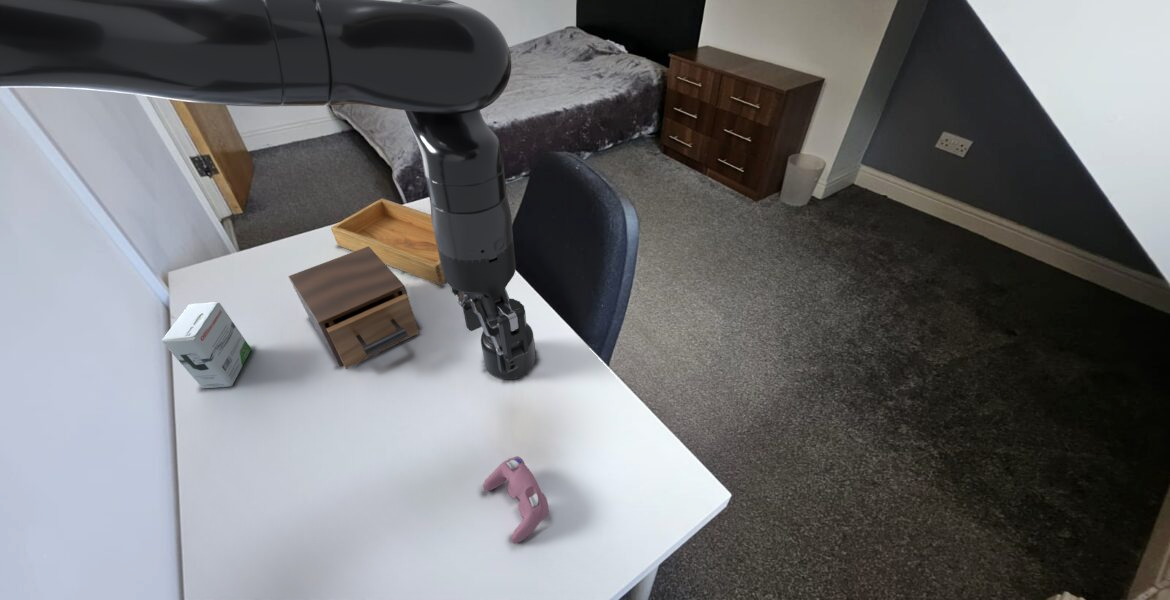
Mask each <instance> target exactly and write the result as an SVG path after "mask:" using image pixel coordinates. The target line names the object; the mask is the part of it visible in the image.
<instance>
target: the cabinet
mask: <svg viewBox="0 0 1170 600" xmlns="http://www.w3.org/2000/svg"><path fill="white" fill-rule="evenodd" d="M288 279H289V281H290V283H291V285H292V287H293V289H294V291H295V293H296V295H297V297H298V299H299V301H300V303H301V304H302V307H303V308H304V310H305V312H306V314H307V316H308V319H309V320H310V322H311V323H312V325H313V326H314V328H315V330H316V331H317V333H318V335H319V336H320V338H321V339H322V341H323V342H324V344H325V346H326V347H327V348H328V350H329V352H330V353H331V355H332V357H333V358H334V360H335V362H336V363H337V365H338V366H339V367H341V366H344V364H343V362H342V360H341V358H340V356H339V354H338V352H337V350H336V348H335V346H334V344H333V342H332V340H331V338H330V336H329V334H328V331H327V329H326V326H325V324H326V323H328V322H330V321H333V320H335V319H337V318H340V317H342V316H344V315H346V314H349V313H351V312H353V311H356V310H358V309H360V308H362V307H365V306H367V305H369V304H372V303H374V302H376V301H378V300H381V299H383V298H385V297H388V296H390V295H392V294H394V293H397V292H398V293H399V296H401V295H403V294H406V295H407V296H408V297H409V295H408V292H407V289H406V285H405V284H404V283H403V282H402V281H401V280H400V279H399V278H398V277H397V276H396V274H395V273H394V272H393V271H392V270H391V269H390V268H389V266H388V265H387V264H385V263H384V262H383V261H382V260H381V259H380V258H379V257H378V256H377V255H376V254H375V253H374V251H373V250H372V249H371V248H370V247H369V246H368V247H365V248H363V249H360V250H357V251H355V252H354V251H351V252H349V253H347V254H344V255H341V256H338V257H336V258H333V259H330V260H328V261H325V262H323V263H320V264H317V265H314V266H312V267H309V268H306V269H304V270H301V271H298V272H296V273H292V274H290V275H288Z"/></svg>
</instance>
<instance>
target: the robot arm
mask: <svg viewBox="0 0 1170 600" xmlns="http://www.w3.org/2000/svg"><path fill="white" fill-rule="evenodd" d="M509 47H510V46H509V44H508V42H507V40H506V38H505V36H504V34H503V32H502V31H501V30H500V28H499V27H498V26H497V24H496V23H494V22H493V21H492V19H490V18H489V17H488V16H487V15H485V14H484V13H483V12H481V11H479V10H477V9H476V8H473V7H470V6H467V5H464V4H461V3H458V2H455V1H452V0H401V1H391V0H0V88H49V89H51V88H52V89H71V90H88V91H99V92H109V93H120V94H128V95H136V96H143V97H152V98H158V99H165V100H172V101H180V102H190V103H195V104H196V103H197V104H198V103H199V104H208V105H220V106H234V107H317V106H318V107H319V106H321V107H322V106H327V107H328V106H341V105H364V106H373V107H379V108H385V109H389V110H390V109H392V110H400V111H403V112H404V114H405V117H406V120H407V122H408V125H409V127H410V130H411V132H412V134H413V137H414V139H415V143H416V144H417V147H418V149H419V152H420V156H421V164H422V169H423V174H424V179H425V182H426V189H427V192H428V198H429V203H430V215H431V220H432V226H433V230H434V235H435V239H436V244H437V249H438V253H439V258H440V262H441V267H442V271H443V276H444V279H445V283H446V284H447V285H449V286H450V288H451V293H452V294H453V295H454V296H455V297H456V296H457V298H458V304H459V306H460V307H461V308H462V311H463V312H462V313H463V316H464V323H465V327H466V329H468V331H469V332H473V331H475V330H478V329H480V328H482V330H483V331H484V333H485V335H487V336H490V337H491V338H492V340H493V343H494V345H495V348H496V353H497V360H498V367H499V370H500V372H501V373H502V374H506V373H509V372H511V371H513V370H515V369H517V368H518V356H521V355H523V354H525V353H527V352H528V344H527V335H526V327H525V318H524V313H523V311H522V310H521V309H520V308H518V309H516V310H513V311H512V309H511V307H510V304H509V299H510V296H509V294H508V291H507V289H506V288H507V287H508V284H509V283H510V282H511V280H512V279H513V277H514V275H515V274H516V268H517V264H516V255H515V241H514V233H513V232H514V231H513V221H512V213H511V207H510V204H509V200H508V193H507V184H506V173H505V163H504V155H503V149H502V145H501V143H500V139H499V138H498V136H497V135H496V133H495V132H494V131H493V130H492V129H491V127H489V125H488V124H487V122H486V121H485V119H484V118H483V116H482V112H481V110H484V109H485V108H487V107H489V106H491V105H492V104H493V103H495V101H497V100H498V99H499V98H500V97H501V96H502V94H503V93H504V91H505V89H506V88H507V86H508V84H509V82H510V78H511V74H512V56H511V51H510V48H509ZM495 319H497V320H498V323H497V325H496V326H494V327H491V326H490V325H489V322H488V321H493V320H495ZM499 333H500V338H501V341H500V339H499V336H498V335H499Z"/></svg>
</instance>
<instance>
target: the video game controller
mask: <svg viewBox="0 0 1170 600" xmlns="http://www.w3.org/2000/svg"><path fill="white" fill-rule="evenodd" d="M484 480H485V481H484V483H483V485H482V489H483V490H484V491H488V492H489V491H493V490H494V489H496V488H498V487H499V486H500V485H502V484H503V483H505V482H506V481H507V493H508V495H509V497H510V498H512V499H515V498H518V500H519V501H518V504H517V507H518V512H519V514H520V516H521V517H522V520H521V521H520V523H519V524H518V525H517V527H516V528H515V529H514V530H513V533H512V534H511V537H510V541H511V542H512V543H513V544H517V543H520V542H522V541H524V540H525V539H526V538H527V537H529V536H530V535H531V534H532V533H533V532H534V531H535V530H536V528H537V527H538V526H539V524H540V523H541V522H542V520H543V519H545V518H546V517H547V516H548V514H549V504H548V503H549V502H548V499H547V497H546V495H545V494H544V493H543V492H542V489H541V488H540V485H539V482H538V481H537V478H535V476H534V474H533V472H532V471H531V470H530V469H529V468H528V466H527V465H526V464H525V462H524V459H523V458H522V457H520V456H519V455H516V456H513V457H509V458H507V459H505V460H504V461H502V462H501V463H500V464H499V465H498V466H497V467H496V468H495V469H494V470H493V471H492V472H491V474H489V475H488V477H487V478H486V479H484Z"/></svg>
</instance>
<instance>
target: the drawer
mask: <svg viewBox="0 0 1170 600" xmlns="http://www.w3.org/2000/svg"><path fill="white" fill-rule="evenodd" d="M407 295H408V294H407ZM407 295H406V294H403V295H401V296H399V293H398V292H397V293H394V294H392V295H390V296H388V297H385V298H383V299H381V300H378V301H376V302H374V303H372V304H369V305H367V306H365V307H362V308H360V309H358V310H356V311H353V312H351V313H349V314H346V315H344V316H342V317H340V318H337V319H335V320H333V321H330V322H328V323H326V324H325V326H326V329H327V331H328V334H329V336H330V338H331V340H332V342H333V344H334V346H335V348H336V350H337V352H338V354H339V356H340V358H341V360H342V362H343V366H344V368H345V369H348V368H351V367H352V366H355V365H356V364H358V363H360V362H363V361H365V360H366V359H369V358H371V357H373V356H374V355H377V354H379V353H381V352H383V351H385V350H387V349H389V348H391V347H393V346H395V345H397V344H400V343H402V342H403V341H405V340H407V339H409V338H411V337H413V336H415V335H417V334H419V333H420V331H419V329H418V328H419V327H418V324H417V322H416V319H415V314H414V312H413V308H412V305H411V301H410V299H409V295H408V296H407Z"/></svg>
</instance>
